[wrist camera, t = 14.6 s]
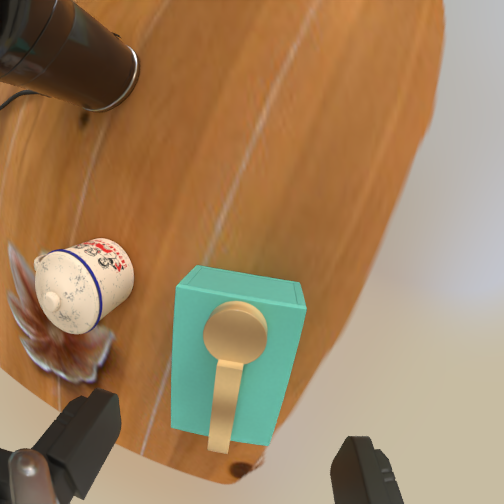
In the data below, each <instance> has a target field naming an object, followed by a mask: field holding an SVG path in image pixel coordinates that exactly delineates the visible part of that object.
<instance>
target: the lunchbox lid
mask: <svg viewBox="0 0 504 504" xmlns="http://www.w3.org/2000/svg"><path fill="white" fill-rule="evenodd" d="M229 301H242V302H246V303H248V304H251V305H253V306H254V307H256V308H257V309H258V310H259V311H260V312H261V313H262V314H263V316H264V318H265V320H266V322H267V327H268V332H267V344H266V348H265V350H264V352H263V353H262V354H261V355H260V357H258V358H257V359H256V360H254V361H253V362H250V363H248V364H244V365H243V371H242V377H241V383H240V388H239V394H238V400H237V405H236V411H235V417H234V422H233V428H232V434H231V439H230V441H236V442H243V443H249V444H257V445H264V446H269V444H270V441H271V438H272V435H273V432H274V428H275V425H276V422H277V419H278V415H279V412H280V409H281V405H282V402H283V398H284V395H285V391H286V388H287V384H288V381H289V377H290V374H291V370H292V366H293V363H294V359H295V355H296V351H297V347H298V343H299V339H300V335H301V331H302V327H303V323H304V319H305V315H306V311H307V308H306V306H304V305H297V304H291V303H284V302H278V301H272V300H266V299H260V298H254V297H248V296H242V295H236V294H231V293H225V292H220V291H214V290H209V289H203V288H198V287H193V286H188V285H183V284H178V285H177V286H176V293H175V307H174V323H173V343H172V371H171V428H175V429H179V430H183V431H187V432H191V433H195V434H200V435H205V436H209V429H210V420H211V411H212V402H213V393H214V384H215V376H216V367H217V363H218V359H216V358H215V357H214V356H212V355H211V354H210V352H209V351H208V350H207V348H206V346H205V344H204V340H203V330H204V326H205V324H206V322H207V320H208V318H209V316H210V314H211V313H212V311H213V310H214V309H215V308H216V307H218V306H219V305H221V304H223V303H225V302H229Z"/></svg>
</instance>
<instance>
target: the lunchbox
mask: <svg viewBox="0 0 504 504" xmlns="http://www.w3.org/2000/svg"><path fill="white" fill-rule="evenodd" d="M179 284H183V285H188V286H193V287H198V288H203V289H209V290H214V291H220V292H225V293H231V294H236V295H242V296H248V297H254V298H260V299H266V300H272V301H278V302H284V303H291V304H297V305H304V306H306V304H305V300H304V296H303V292H302V289H301V285H300V282H294V281H288V280H282V279H275V278H269V277H263V276H257V275H252V274H246V273H240V272H234V271H228V270H223V269H217V268H211V267H206V266H200V265H196V266H195V267H194V268H193V269H192V270H191V271H190V272H189V273H188V274H187V275H186V276H185V277H184V278H183V279H182V281H181V282H180V283H179Z"/></svg>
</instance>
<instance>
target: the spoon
mask: <svg viewBox="0 0 504 504" xmlns="http://www.w3.org/2000/svg"><path fill="white" fill-rule="evenodd" d="M267 332H268V327H267V322H266V320H265V318H264V316H263V314H262V313H261V312H260V311H259V310H258V309H257V308H256V307H254V306H253V305H251V304H248V303H246V302H242V301H229V302H225V303H223V304H221V305H219V306H218V307H216V308H215V309H214V310H213V311H212V313H211V314H210V316H209V318H208V320H207V322H206V324H205V326H204V330H203V340H204V344H205V346H206V348H207V350H208V351H209V352H210V354H211V355H212V356H214V357H215V358H216V359H218V363H217V367H216V376H215V384H214V393H213V402H212V411H211V420H210V429H209V439H208V448H207V450H209V451H214V452H219V453H225V454H228V450H229V444H230V439H231V434H232V428H233V422H234V417H235V411H236V405H237V400H238V394H239V388H240V383H241V377H242V371H243V365H244V364H248V363H250V362H253V361H254V360H256V359H257V358H258V357H260V355H261V354H262V353H263V352H264V350H265V348H266V344H267Z"/></svg>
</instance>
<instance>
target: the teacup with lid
mask: <svg viewBox="0 0 504 504" xmlns="http://www.w3.org/2000/svg"><path fill="white" fill-rule="evenodd" d="M34 269H35V270H36V277H35V287H36V293H37V297H38V300H39V303H40V305H41V308H42V309H43V311H44V313H45V314H46V316H47V317H48V318H49V320H50V321H51V322H52V323H53V324H54V325H55V326H57V327H58V328H60V329H61V330H63V331H65V332H68V333H71V334H83V333H87V332H89V331H91V330H92V329H93V328H94V327H95V326H96V325H97V324H98V322H99V321H100V320H101V319H102V318H103V317H104V316H106V315H107V314H108V313H109V312H111V311H112V310H113V309H114V308H116V307H117V306H118V305H119V304H121V303H122V302H123V301H124V300H126V298H127V297H128V296H129V295H130V293H131V291H132V288H133V283H134V272H133V267H132V264H131V261H130V259H129V257H128V255H127V254H126V252H125V251H124V250H123V249H122V248H121V247H120V246H119V245H118V244H117V243H115V242H113V241H111V240H109V239H104V238H98V239H93V240H90V241H87V242H84V243H81V244H78V245H75V246H72V247H69V248H67V249H58V250H54V251H51V252H50V253H48V254H45V255H41V256H38V257H37V258H36V259H35V260H34Z"/></svg>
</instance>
